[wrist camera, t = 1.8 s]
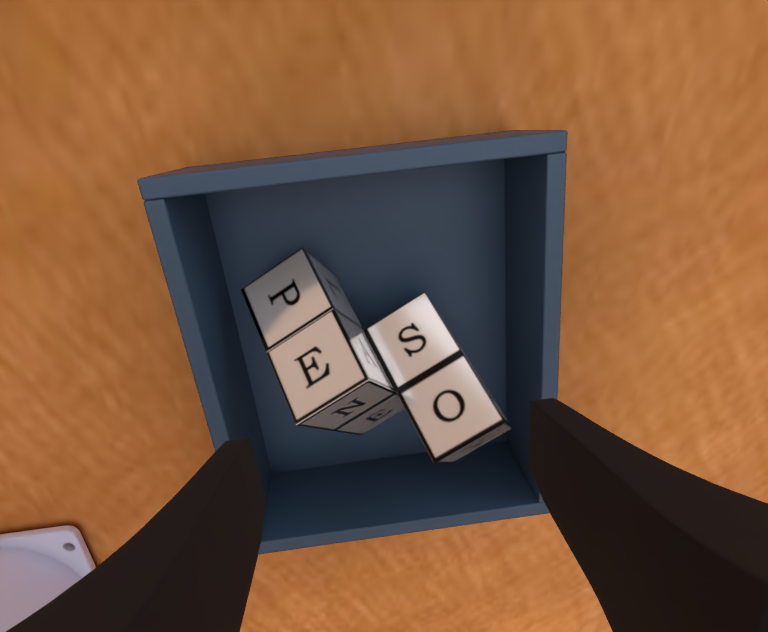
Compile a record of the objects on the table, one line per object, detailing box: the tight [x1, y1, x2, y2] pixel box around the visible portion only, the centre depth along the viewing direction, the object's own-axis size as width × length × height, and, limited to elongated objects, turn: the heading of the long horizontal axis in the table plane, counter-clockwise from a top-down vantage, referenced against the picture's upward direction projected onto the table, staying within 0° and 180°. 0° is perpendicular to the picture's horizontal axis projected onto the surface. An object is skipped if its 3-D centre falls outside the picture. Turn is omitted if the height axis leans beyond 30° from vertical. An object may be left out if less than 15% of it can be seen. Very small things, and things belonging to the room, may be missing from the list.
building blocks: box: [241, 247, 512, 464], centre depth 17 cm, size 5×5×8 cm
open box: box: [138, 130, 567, 554], centre depth 18 cm, size 14×12×4 cm
